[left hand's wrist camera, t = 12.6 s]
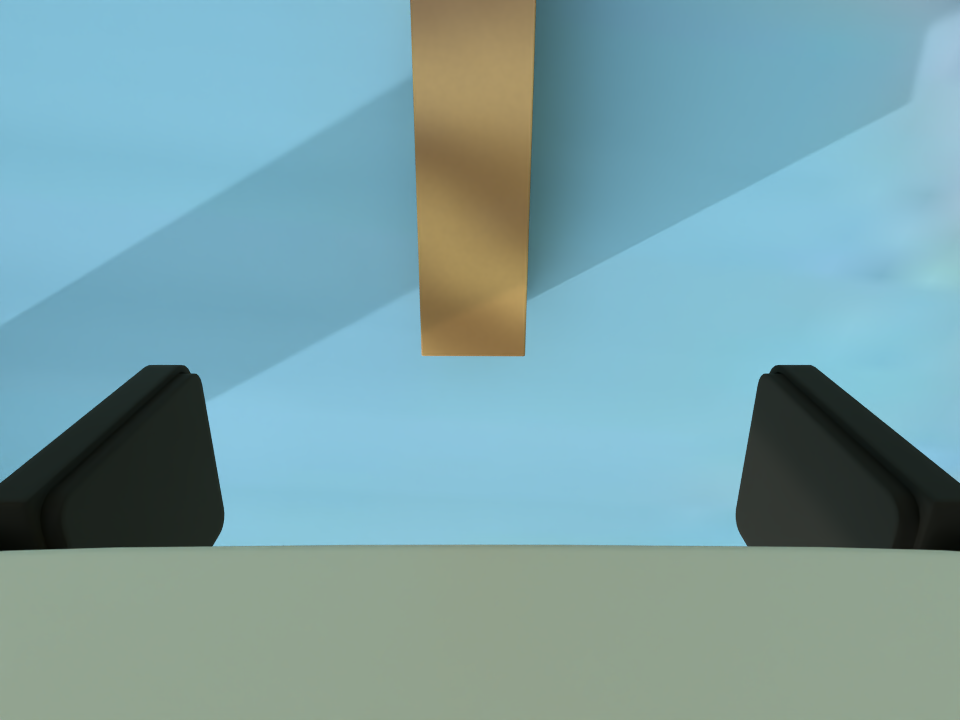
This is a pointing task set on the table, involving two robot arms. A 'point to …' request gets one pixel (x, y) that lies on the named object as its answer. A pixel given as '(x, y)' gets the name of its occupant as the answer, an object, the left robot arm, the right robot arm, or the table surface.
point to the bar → (473, 172)
